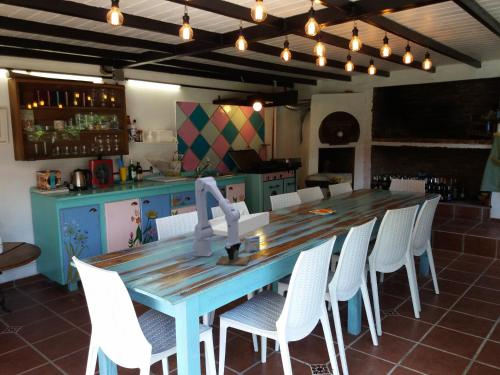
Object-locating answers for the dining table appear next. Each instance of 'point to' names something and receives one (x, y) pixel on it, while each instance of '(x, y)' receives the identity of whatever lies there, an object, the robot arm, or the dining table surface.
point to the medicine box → (252, 244)
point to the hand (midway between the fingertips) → (233, 257)
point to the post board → (241, 262)
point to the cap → (235, 256)
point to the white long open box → (240, 223)
